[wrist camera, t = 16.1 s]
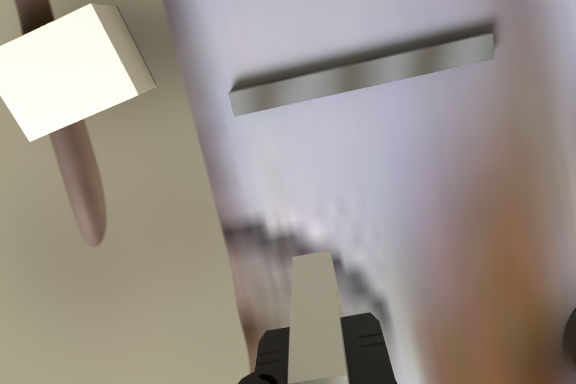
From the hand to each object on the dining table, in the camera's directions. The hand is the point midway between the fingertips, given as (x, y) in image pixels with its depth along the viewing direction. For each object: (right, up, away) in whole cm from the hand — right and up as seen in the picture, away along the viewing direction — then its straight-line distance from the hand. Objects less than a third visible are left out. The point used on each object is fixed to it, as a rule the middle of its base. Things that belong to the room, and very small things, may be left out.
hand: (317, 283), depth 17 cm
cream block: (-19, +14, +20) cm, 31 cm away
